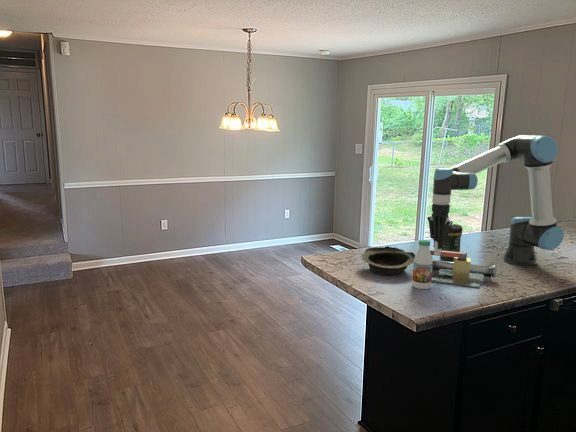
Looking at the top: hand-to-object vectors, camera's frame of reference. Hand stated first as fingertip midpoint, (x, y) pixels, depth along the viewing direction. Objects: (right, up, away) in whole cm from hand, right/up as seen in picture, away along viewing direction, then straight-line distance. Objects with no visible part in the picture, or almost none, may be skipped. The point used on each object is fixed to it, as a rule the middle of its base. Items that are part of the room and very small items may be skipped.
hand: (437, 255), depth 210 cm
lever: (+5, -1, +1) cm, 6 cm away
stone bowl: (-21, -9, +8) cm, 24 cm away
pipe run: (+8, -10, 0) cm, 13 cm away
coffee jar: (+15, -5, +28) cm, 32 cm away
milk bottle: (-11, -13, -13) cm, 21 cm away
